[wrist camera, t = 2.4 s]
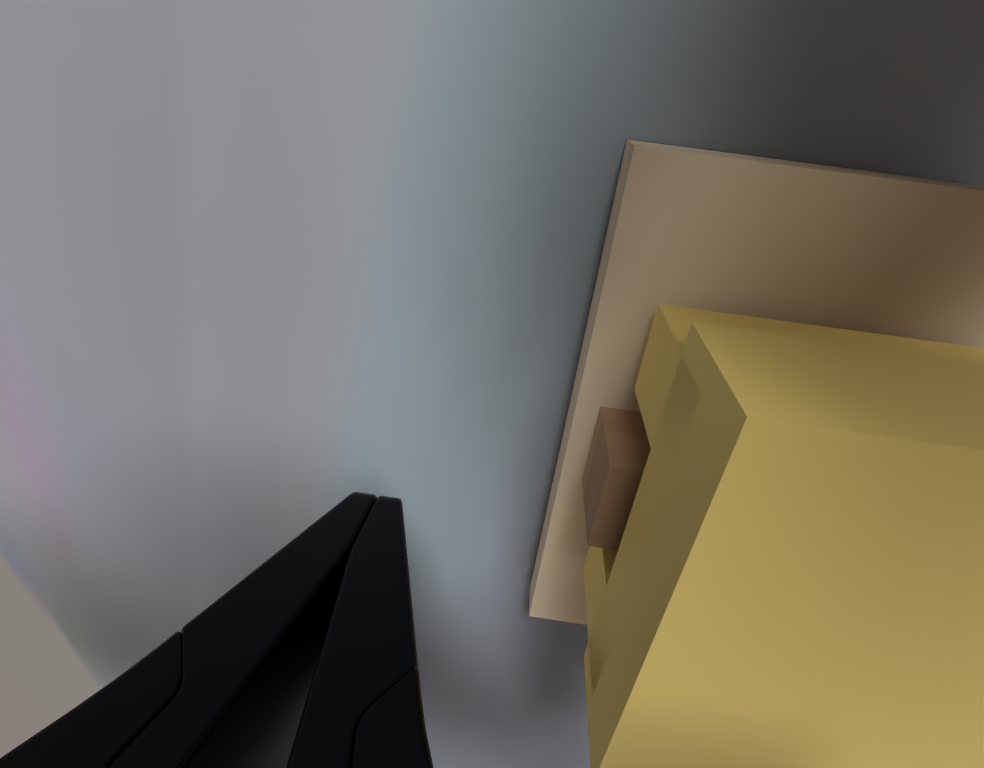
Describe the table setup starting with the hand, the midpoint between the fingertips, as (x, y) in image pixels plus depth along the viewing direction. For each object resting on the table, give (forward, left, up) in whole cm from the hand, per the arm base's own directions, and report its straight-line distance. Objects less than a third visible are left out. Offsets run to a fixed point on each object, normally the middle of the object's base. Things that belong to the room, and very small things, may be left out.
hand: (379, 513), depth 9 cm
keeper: (-7, 0, -3) cm, 8 cm away
